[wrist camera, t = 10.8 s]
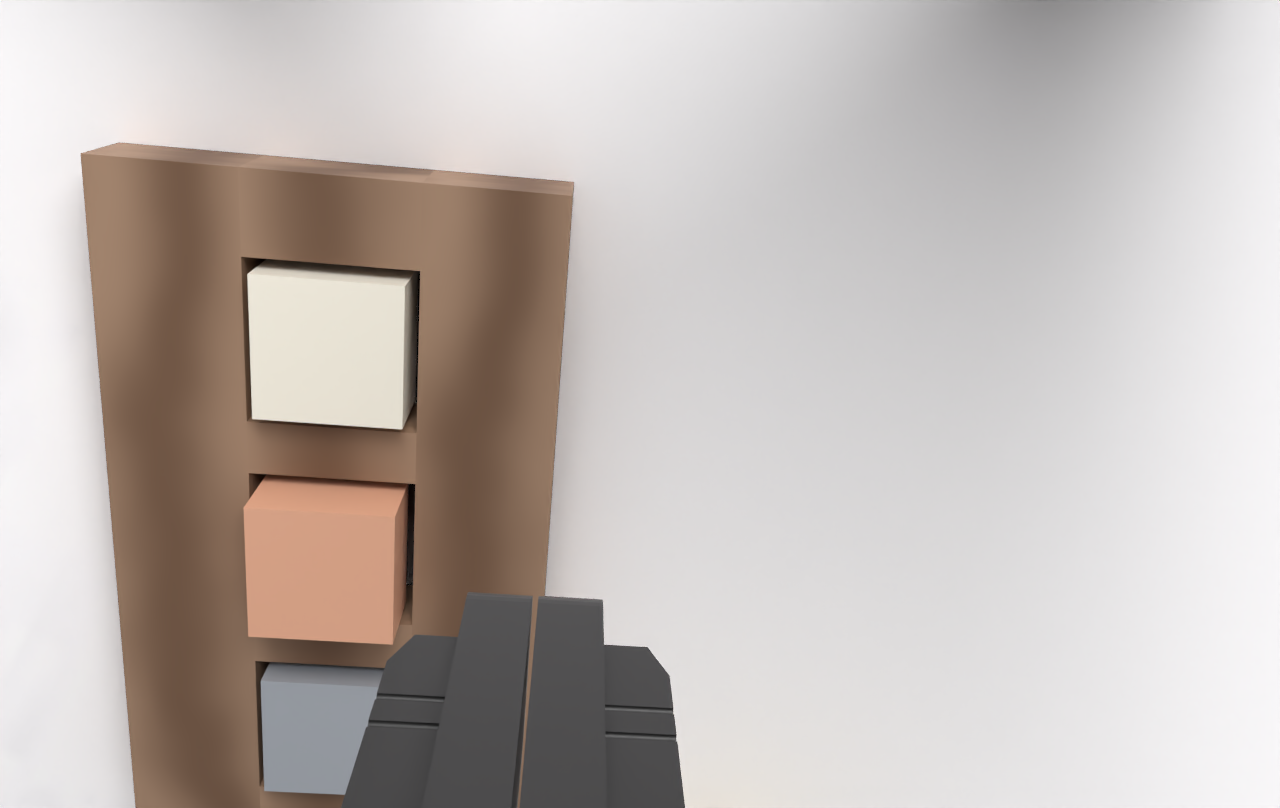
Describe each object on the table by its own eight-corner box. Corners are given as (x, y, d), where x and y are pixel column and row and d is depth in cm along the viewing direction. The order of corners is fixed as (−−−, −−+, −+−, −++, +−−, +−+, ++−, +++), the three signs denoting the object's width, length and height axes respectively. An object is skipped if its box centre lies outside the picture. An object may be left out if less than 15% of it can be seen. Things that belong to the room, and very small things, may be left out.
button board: (573, 182, 39) (572, 195, 36) (529, 806, 48) (525, 856, 46) (118, 142, 38) (80, 153, 35) (165, 790, 47) (138, 839, 44)
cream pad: (418, 266, 39) (405, 286, 36) (415, 400, 41) (402, 429, 38) (272, 254, 39) (247, 274, 36) (275, 390, 40) (252, 419, 38)
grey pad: (409, 645, 44) (397, 688, 42) (407, 749, 46) (395, 796, 43) (281, 638, 44) (260, 680, 41) (284, 742, 46) (264, 790, 43)
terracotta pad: (408, 481, 40) (394, 517, 38) (406, 602, 42) (392, 644, 39) (267, 472, 40) (243, 507, 37) (271, 594, 42) (248, 636, 39)
